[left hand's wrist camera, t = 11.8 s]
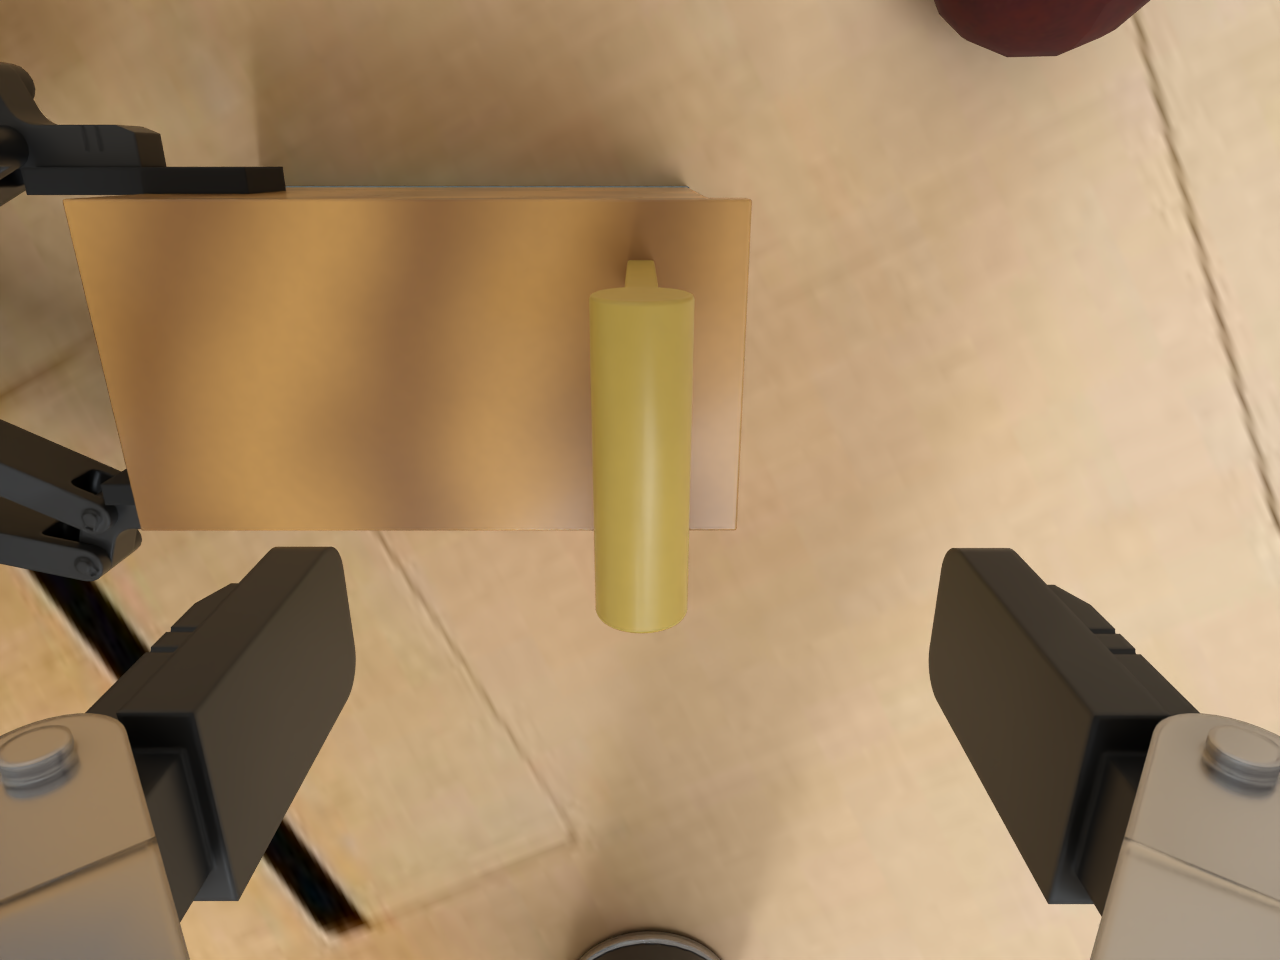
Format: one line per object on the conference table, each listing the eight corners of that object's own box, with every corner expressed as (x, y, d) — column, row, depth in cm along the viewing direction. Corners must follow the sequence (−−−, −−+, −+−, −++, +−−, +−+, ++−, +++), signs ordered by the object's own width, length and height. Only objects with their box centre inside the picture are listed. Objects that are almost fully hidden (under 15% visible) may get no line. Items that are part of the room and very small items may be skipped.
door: (747, 197, 22) (813, 219, 13) (733, 518, 25) (779, 691, 17) (83, 197, 22) (-253, 219, 13) (157, 518, 25) (-77, 692, 17)
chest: (687, 186, 32) (709, 197, 22) (682, 416, 35) (700, 518, 25) (260, 186, 32) (84, 197, 22) (296, 416, 35) (158, 518, 25)
